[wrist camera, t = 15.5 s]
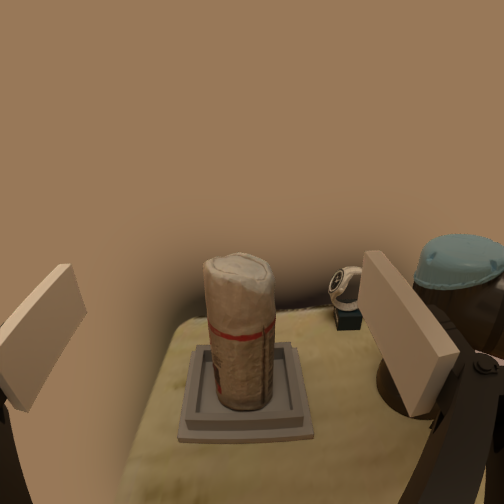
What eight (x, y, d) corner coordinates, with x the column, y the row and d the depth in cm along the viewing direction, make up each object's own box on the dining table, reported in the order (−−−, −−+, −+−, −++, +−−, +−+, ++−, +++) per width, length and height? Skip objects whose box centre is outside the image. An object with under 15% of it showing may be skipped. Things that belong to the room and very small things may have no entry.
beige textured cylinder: (225, 365, 46) (212, 244, 38) (279, 373, 44) (281, 249, 36) (207, 406, 39) (182, 278, 30) (267, 417, 37) (266, 286, 28)
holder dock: (296, 352, 50) (297, 335, 48) (313, 438, 34) (316, 423, 33) (192, 356, 50) (189, 339, 48) (179, 442, 34) (172, 427, 33)
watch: (323, 313, 60) (328, 262, 55) (363, 312, 59) (371, 262, 54) (326, 331, 54) (332, 277, 50) (369, 329, 54) (379, 277, 49)
